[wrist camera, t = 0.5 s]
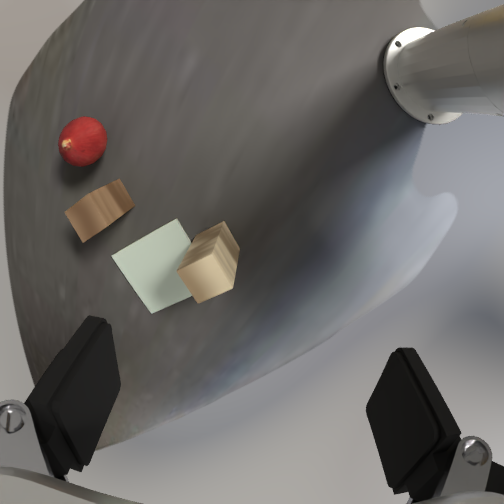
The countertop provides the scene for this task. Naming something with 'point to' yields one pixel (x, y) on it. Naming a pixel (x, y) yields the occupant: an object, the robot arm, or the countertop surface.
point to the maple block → (210, 263)
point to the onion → (82, 141)
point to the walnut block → (99, 209)
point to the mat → (156, 266)
